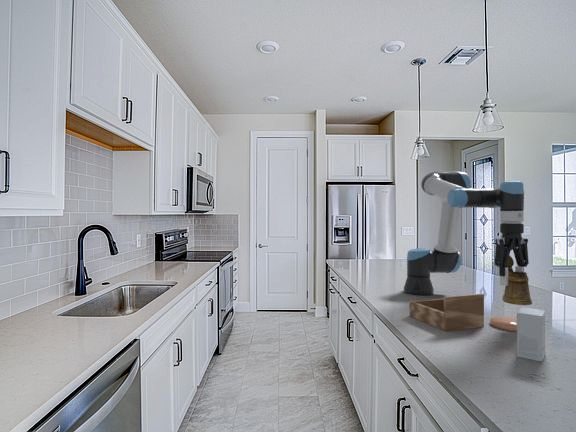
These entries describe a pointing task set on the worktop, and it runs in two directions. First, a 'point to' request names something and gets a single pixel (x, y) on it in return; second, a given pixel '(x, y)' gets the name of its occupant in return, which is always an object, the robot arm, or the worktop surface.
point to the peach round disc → (504, 323)
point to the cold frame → (450, 312)
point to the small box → (531, 334)
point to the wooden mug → (516, 286)
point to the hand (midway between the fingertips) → (511, 284)
